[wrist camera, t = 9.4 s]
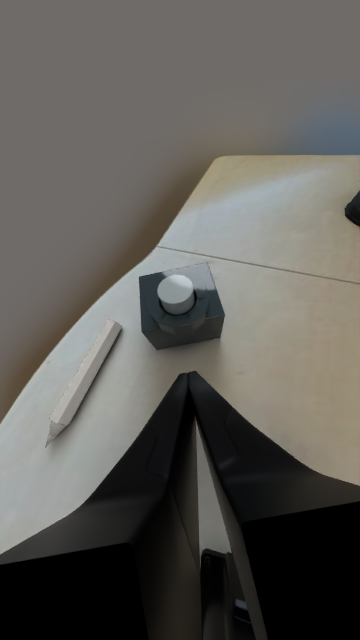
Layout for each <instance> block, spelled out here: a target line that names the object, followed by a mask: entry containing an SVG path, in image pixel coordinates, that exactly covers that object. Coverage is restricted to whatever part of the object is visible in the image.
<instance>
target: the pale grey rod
mask: <svg viewBox="0 0 360 640" xmlns="http://www.w3.org/2000/svg"><path fill="white" fill-rule="evenodd" d="M121 328H122V325H120V324H119V323H117V322H115V321H112V320H109V319H108V321H107V322H106V324H105V326H104V327H103V329H102V331H101V332H100V334H99V336H98V337H97V339H96V341H95V343H94V344H93V346H92V348H91V349H90V351H89V353H88V354H87V356H86V358H85V359H84V361H83V363H82V364H81V366H80V368H79V370H78V371H77V373H76V375H75V376H74V378H73V380H72V381H71V383H70V385H69V386H68V388H67V390H66V392H65V393H64V395H63V397H62V398H61V400H60V402H59V403H58V405H57V407H56V408H55V410H54V412H53V413H52V415H51V417H50V420H51V425H50V431H49V435H48V439H47V443H46V446H47V445H48V444H49V443H50V442H51V441H52V440H53V439H54V437H55V436H56V435H57V434H58V433H59V432H60V431H61V430H62V429H63V428H64V427H65V426H67V425H68V424H69V423H70V422H71V420H72V419H73V417H74V415H75V413H76V411H77V409H78V408H79V406H80V404H81V402H82V400H83V398H84V396H85V395H86V393H87V391H88V389H89V387H90V385H91V384H92V382H93V380H94V378H95V376H96V374H97V372H98V371H99V369H100V367H101V365H102V363H103V361H104V360H105V358H106V356H107V354H108V352H109V350H110V348H111V347H112V345H113V343H114V341H115V339H116V337H117V336H118V334H119V332H120V330H121ZM45 448H46V447H45Z"/></svg>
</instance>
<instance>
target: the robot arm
mask: <svg viewBox="0 0 360 640" xmlns="http://www.w3.org/2000/svg"><path fill="white" fill-rule="evenodd" d="M195 417H196V419H195ZM196 422H197V426H198V429H199V433H200V437H201V440H202V444H203V448H204V451H205V455H206V459H207V462H208V466H209V469H210V473H211V477H212V480H213V484H214V488H215V491H216V495H217V499H218V502H219V506H220V510H221V513H222V517H223V521H224V524H225V528H226V532H227V535H228V539H229V542H230V546H231V550H232V553H230V552H228V553H227V554H222V553H219V552H216V551H213V550H210V549H204V550H203V552H202V555H201V568H200V553H199V517H198V481H197V445H196ZM205 557H209V559H210V562H209V563H207V562H206V561H205ZM0 640H360V486H358V485H355V484H352V483H348V482H345V481H342V480H338V479H335V478H332V477H328V476H325V475H323V474H320V473H318V472H316V471H314V470H312V469H311V468H309V467H307V466H306V465H304V464H303V463H301V462H300V461H298V460H297V459H296V458H294V457H293V456H292V455H290V454H289V453H288V452H286V451H285V450H284V449H283V448H281V447H280V446H279V445H277V444H276V443H275V442H273V441H272V440H271V439H270V438H268V437H267V436H266V435H264V434H263V433H262V432H260V431H259V430H258V429H257V428H255V427H254V426H253V425H252V424H251V423H249V422H248V421H247V420H246V419H245V418H244V417H243V416H242V415H240V414H239V413H238V412H237V411H236V410H235V409H234V408H233V407H232V406H231V405H230V404H229V403H228V402H227V401H226V400H225V399H224V398H223V397H222V396H221V395H220V394H219V393H218V392H217V391H216V390H215V389H214V388H213V387H212V386H211V385H210V384H208V383H207V382H206V381H205V380H204V379H203V378H202V377H201V376H200V375H199V374H198V373H197V372H196V371H192V372H188V373H182V374H179V376H178V377H177V379H176V380H175V382H174V383H173V385H172V386H171V388H170V389H169V391H168V392H167V394H166V395H165V397H164V398H163V400H162V401H161V403H160V404H159V406H158V407H157V409H156V410H155V412H154V413H153V415H152V416H151V418H150V419H149V421H148V423H147V424H146V425H145V427H144V428H143V430H142V431H141V432H140V434H139V435H138V437H137V438H136V440H135V441H134V442H133V444H132V445H131V446H130V447H129V449H128V450H127V451H126V453H125V454H124V455H123V456H122V458H121V459H120V460H119V461H118V463H117V464H116V465H115V466H114V468H113V469H112V470H111V471H110V473H109V474H108V475H107V476H106V478H105V479H104V480H103V481H102V483H101V484H100V485H99V486H98V487H97V489H96V490H95V491H94V492H93V493H92V495H91V496H90V497H89V498H88V499H87V500H86V501H85V502H84V503H83V504H82V505H81V506H80V507H79V508H77V509H76V510H75V511H74V512H72V513H71V514H69V515H68V516H66V517H65V518H63V519H61V520H59V521H58V522H56V523H54V524H52V525H51V526H49V527H47V528H45V529H44V530H42V531H40V532H39V533H37V534H35V535H33V536H32V537H30V538H28V539H26V540H25V541H23V542H21V543H19V544H18V545H16V546H14V547H13V548H11V549H9V550H7V551H6V552H4V553H2V554H0Z"/></svg>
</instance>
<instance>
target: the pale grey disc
mask: <svg viewBox="0 0 360 640" xmlns="http://www.w3.org/2000/svg"><path fill="white" fill-rule="evenodd" d="M157 293H158V296H159V299H160V301H161V303H162V306H163V308H164V309H165V311H167V312H168V313H170V314H173V315H180V314H184V313H186V312H188V311H189V310H190V309H191V308H192V306H193V305H194V301H195V299H194V289H193V284H192V282H191V280H190V279H189V278H187V277H186V276H183V275H172V276H169V277H167V278H165V279H164V280H162V281H161V283H160V284H159V286H158V290H157Z"/></svg>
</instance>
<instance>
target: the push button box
mask: <svg viewBox="0 0 360 640" xmlns="http://www.w3.org/2000/svg"><path fill="white" fill-rule="evenodd" d="M172 275H183V276H186V277H187V278H189V279H190V280H191V282H192V284H193V289H194V299H195V301H194V305H193V306H192V308H191V309H190V310H189V311H188V312H186V313H184V314H180V315H173V314H170V313H168V312H167V311H165V309H164V308H163V306H162V303H161V301H160V299H159V296H158V293H157V290H158V286H159V284H160V283H161V281H162V280H164V279H165V278H167V277H169V276H172ZM139 287H140V308H141V328H142V333H143V334H144V335H145V337H146V338H147V339H148V340H149V341H150V343H151V344H152V345H153V346H154V348H155V349H156V350H159V349H164V348H169V347H174V346H179V345H184V344H189V343H194V342H200V341H205V340H210V339H215V338H220V337H221V332H222V327H223V322H224V317H225V314H224V311H223V307H222V304H221V301H220V298H219V295H218V292H217V289H216V286H215V283H214V280H213V277H212V274H211V271H210V268H209V265H208V263H207V262H205V263H201V264H196V265H191V266H187V267H182V268H178V269H173V270H168V271H164V272H159V273H154V274H150V275H145V276H141V277H139Z"/></svg>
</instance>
